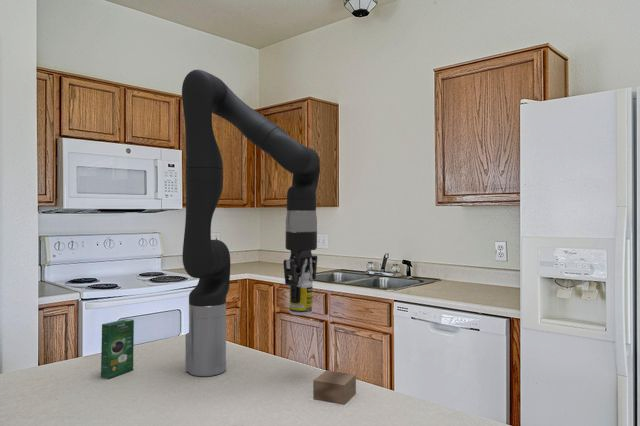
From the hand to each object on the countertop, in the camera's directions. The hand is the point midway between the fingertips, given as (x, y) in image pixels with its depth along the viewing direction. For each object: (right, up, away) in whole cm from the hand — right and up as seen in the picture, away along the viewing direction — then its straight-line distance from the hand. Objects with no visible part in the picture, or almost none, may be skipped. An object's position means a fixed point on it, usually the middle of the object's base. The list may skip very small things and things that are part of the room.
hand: (301, 300), depth 117 cm
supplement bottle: (0, -3, 0) cm, 3 cm away
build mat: (+7, -20, -9) cm, 22 cm away
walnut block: (+8, -18, -12) cm, 23 cm away
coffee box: (-46, -19, +5) cm, 50 cm away
